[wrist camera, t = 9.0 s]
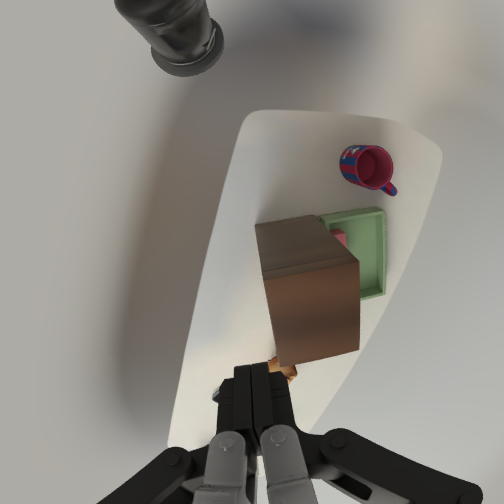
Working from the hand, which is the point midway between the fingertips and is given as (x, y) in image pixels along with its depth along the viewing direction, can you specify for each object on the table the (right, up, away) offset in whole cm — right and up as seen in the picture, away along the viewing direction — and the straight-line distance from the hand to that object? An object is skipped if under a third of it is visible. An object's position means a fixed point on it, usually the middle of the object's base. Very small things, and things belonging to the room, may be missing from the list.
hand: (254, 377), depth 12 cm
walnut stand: (+6, +6, +38) cm, 39 cm away
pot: (+6, -17, +46) cm, 49 cm away
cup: (+19, +19, +33) cm, 43 cm away
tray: (+18, +5, +38) cm, 43 cm away
